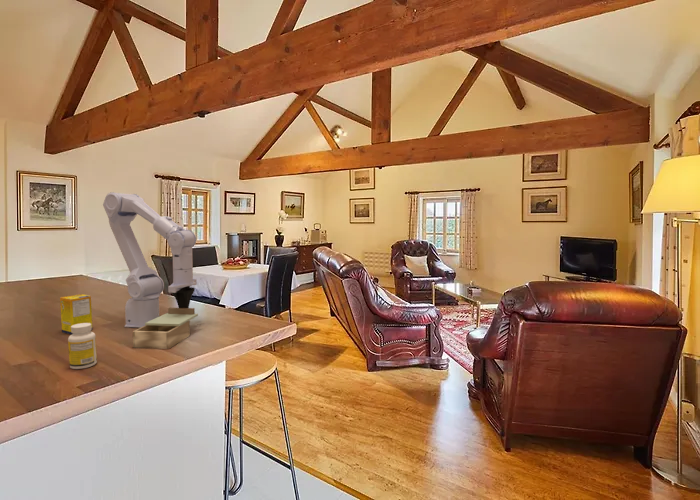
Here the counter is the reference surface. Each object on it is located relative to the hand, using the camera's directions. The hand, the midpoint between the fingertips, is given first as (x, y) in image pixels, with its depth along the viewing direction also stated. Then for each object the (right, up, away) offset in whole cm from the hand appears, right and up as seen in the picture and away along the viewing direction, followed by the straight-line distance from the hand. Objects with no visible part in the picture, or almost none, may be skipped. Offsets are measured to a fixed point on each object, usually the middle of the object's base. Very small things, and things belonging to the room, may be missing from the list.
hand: (183, 311), depth 123 cm
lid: (0, -2, -7) cm, 7 cm away
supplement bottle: (-11, -8, -31) cm, 34 cm away
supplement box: (-31, -6, -4) cm, 32 cm away
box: (-1, -7, -12) cm, 14 cm away
